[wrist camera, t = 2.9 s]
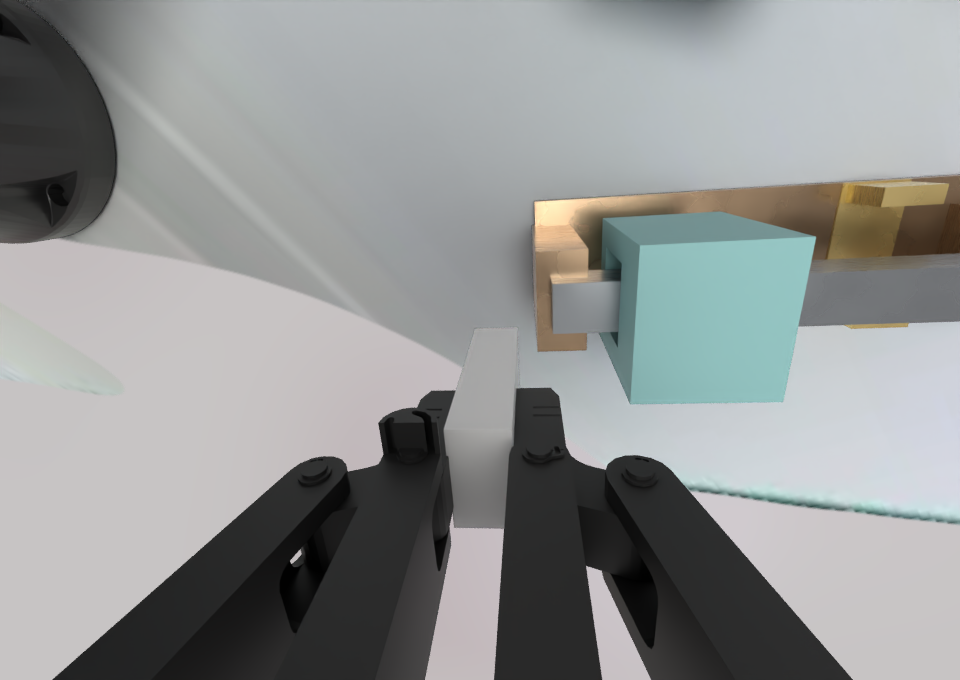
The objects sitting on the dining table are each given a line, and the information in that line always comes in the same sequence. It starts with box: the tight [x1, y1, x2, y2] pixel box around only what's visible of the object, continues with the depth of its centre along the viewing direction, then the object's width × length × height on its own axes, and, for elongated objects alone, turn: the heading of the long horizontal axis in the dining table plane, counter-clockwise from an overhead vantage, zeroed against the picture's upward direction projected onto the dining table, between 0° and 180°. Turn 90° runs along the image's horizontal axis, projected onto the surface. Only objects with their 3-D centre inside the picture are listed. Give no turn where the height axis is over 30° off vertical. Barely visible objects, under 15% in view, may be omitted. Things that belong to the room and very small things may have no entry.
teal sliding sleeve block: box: [599, 211, 816, 404], centre depth 21 cm, size 6×7×8 cm
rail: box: [532, 175, 960, 352], centre depth 24 cm, size 26×8×10 cm, turn 94°
